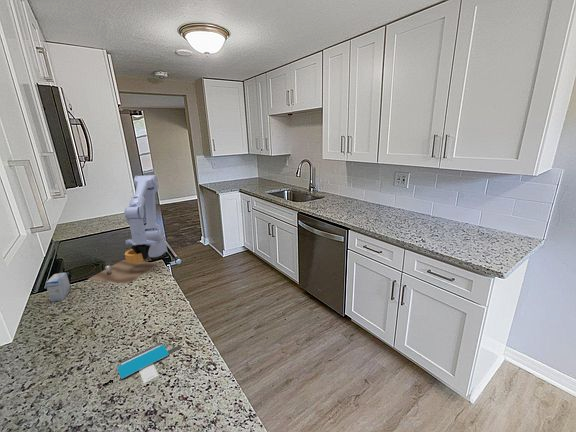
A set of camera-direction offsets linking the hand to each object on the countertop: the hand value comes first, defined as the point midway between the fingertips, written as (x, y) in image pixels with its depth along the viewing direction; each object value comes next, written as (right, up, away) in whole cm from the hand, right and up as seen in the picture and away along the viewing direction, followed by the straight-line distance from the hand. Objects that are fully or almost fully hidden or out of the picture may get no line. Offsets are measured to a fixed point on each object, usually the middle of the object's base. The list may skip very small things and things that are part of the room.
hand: (143, 258), depth 126 cm
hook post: (-15, -7, -2) cm, 17 cm away
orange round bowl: (-4, 0, +1) cm, 4 cm away
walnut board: (-9, -7, +1) cm, 12 cm away
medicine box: (-25, -13, -16) cm, 33 cm away
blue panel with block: (+29, -22, -52) cm, 63 cm away
